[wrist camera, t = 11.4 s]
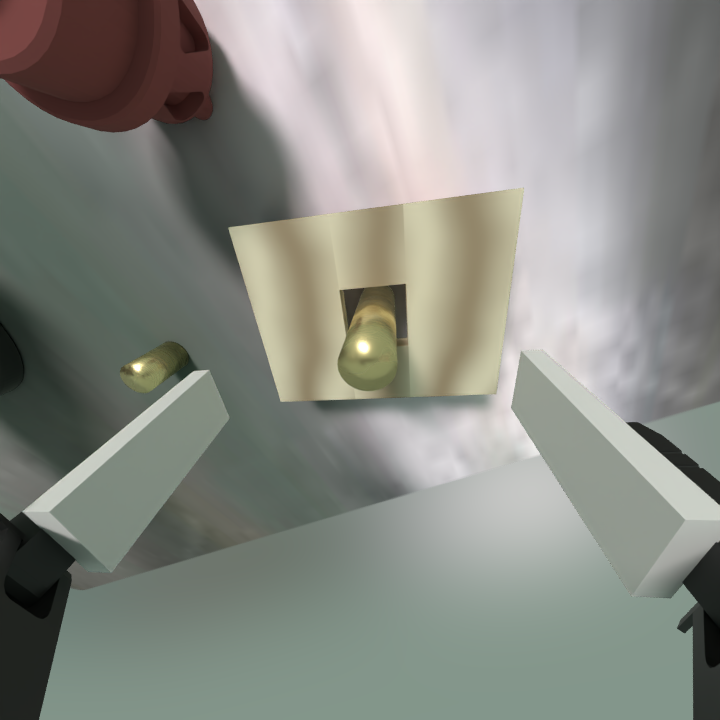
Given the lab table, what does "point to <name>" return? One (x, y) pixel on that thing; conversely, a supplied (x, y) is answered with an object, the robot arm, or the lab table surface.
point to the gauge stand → (382, 268)
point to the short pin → (154, 367)
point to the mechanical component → (108, 60)
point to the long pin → (371, 342)
